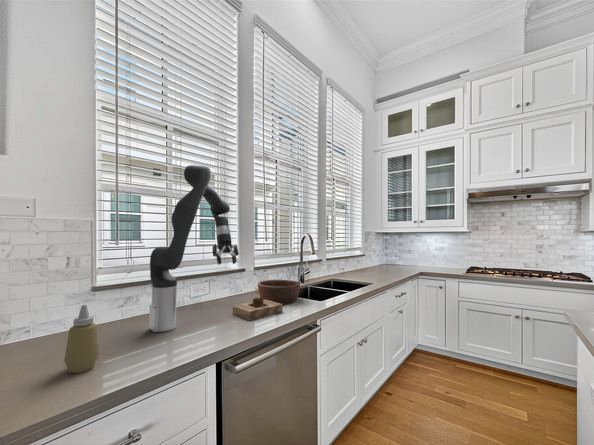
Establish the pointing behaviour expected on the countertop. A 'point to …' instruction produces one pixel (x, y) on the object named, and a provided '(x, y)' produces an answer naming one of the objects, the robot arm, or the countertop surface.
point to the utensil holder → (257, 301)
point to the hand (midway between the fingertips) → (227, 263)
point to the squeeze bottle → (82, 343)
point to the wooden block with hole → (257, 310)
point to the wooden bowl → (279, 290)
